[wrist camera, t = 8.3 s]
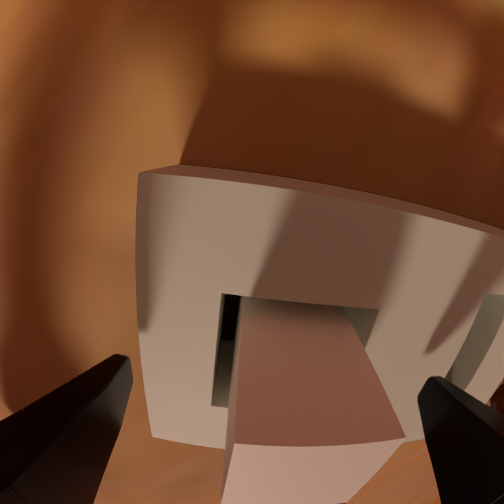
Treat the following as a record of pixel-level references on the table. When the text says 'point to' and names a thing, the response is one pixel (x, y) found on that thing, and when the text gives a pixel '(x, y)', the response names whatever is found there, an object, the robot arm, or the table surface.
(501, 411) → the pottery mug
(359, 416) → the square peg
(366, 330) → the socket block
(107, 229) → the table surface
